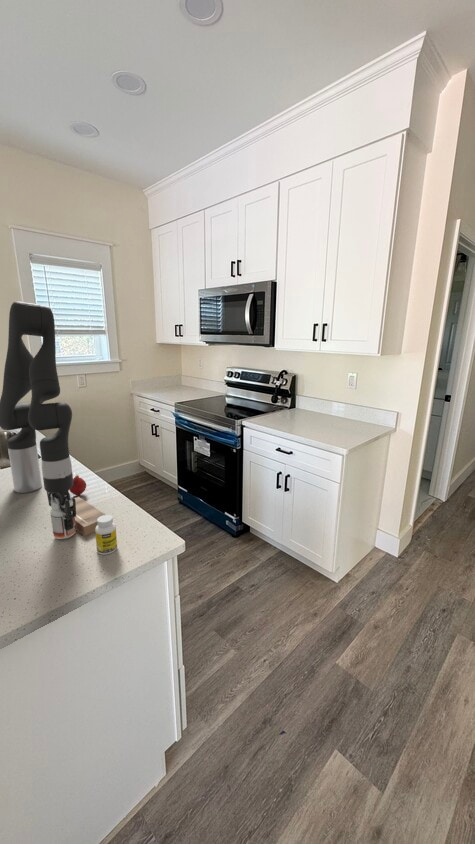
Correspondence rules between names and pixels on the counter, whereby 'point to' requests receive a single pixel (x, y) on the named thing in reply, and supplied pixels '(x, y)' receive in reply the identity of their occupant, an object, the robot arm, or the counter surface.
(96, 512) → the brown banded box
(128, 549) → the counter surface
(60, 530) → the pill bottle
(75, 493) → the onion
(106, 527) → the supplement bottle
